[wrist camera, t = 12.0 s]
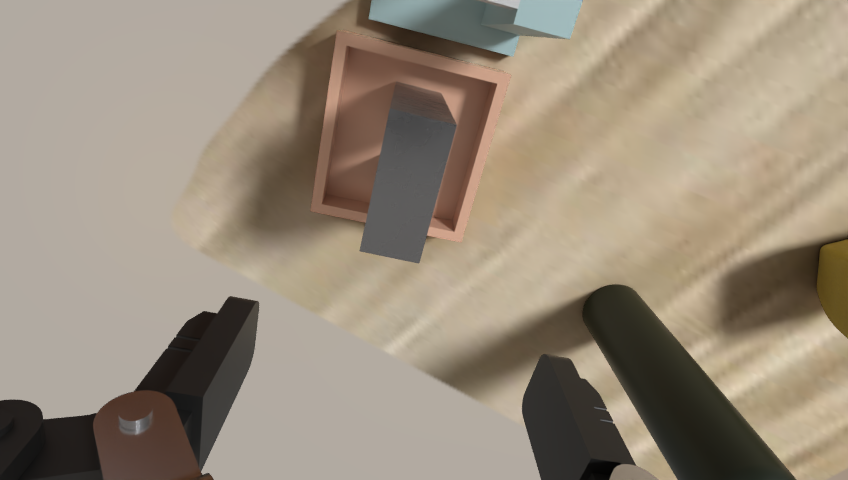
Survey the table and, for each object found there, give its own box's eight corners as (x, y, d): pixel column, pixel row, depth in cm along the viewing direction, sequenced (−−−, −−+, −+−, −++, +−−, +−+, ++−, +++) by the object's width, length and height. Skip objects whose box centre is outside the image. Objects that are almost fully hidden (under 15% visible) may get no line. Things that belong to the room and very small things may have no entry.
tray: (343, 30, 35) (336, 30, 32) (502, 71, 36) (511, 75, 33) (317, 197, 40) (310, 211, 37) (457, 227, 42) (461, 242, 39)
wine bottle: (629, 336, 47) (926, 753, 20) (575, 330, 47) (804, 749, 20) (648, 287, 45) (1014, 686, 18) (592, 280, 45) (879, 679, 17)
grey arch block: (396, 81, 36) (389, 108, 24) (441, 92, 36) (457, 125, 24) (374, 183, 39) (359, 251, 27) (416, 192, 40) (419, 263, 28)
